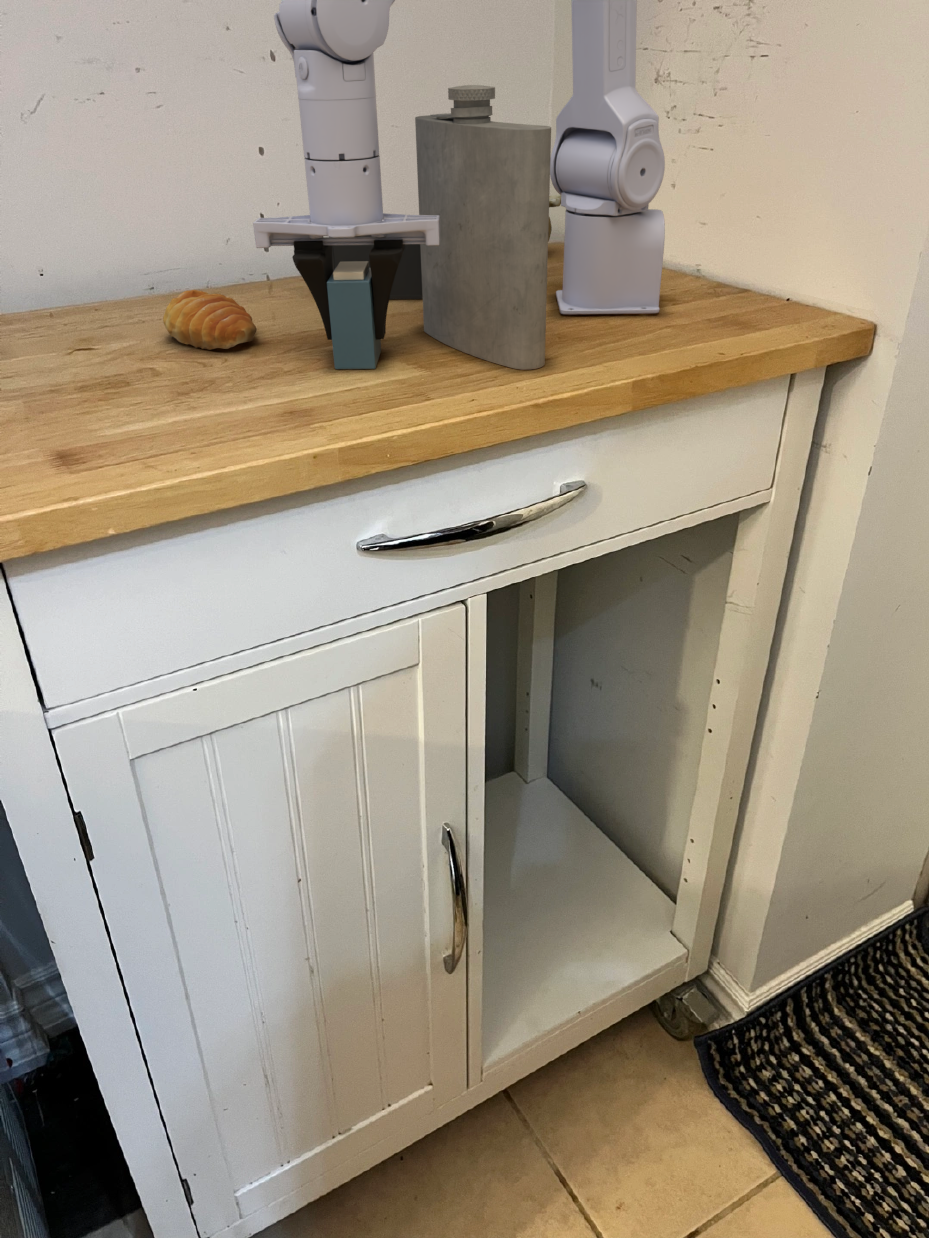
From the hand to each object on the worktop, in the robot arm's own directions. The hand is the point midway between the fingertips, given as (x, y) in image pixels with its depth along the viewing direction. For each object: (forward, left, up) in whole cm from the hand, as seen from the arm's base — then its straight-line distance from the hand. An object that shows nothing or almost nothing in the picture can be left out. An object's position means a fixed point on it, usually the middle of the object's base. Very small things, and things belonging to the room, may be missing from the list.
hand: (356, 336), depth 79 cm
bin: (-2, -26, -2) cm, 26 cm away
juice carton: (0, 0, -2) cm, 2 cm away
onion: (-15, -41, -2) cm, 44 cm away
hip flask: (-10, -3, -2) cm, 11 cm away
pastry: (+14, -7, -2) cm, 16 cm away
